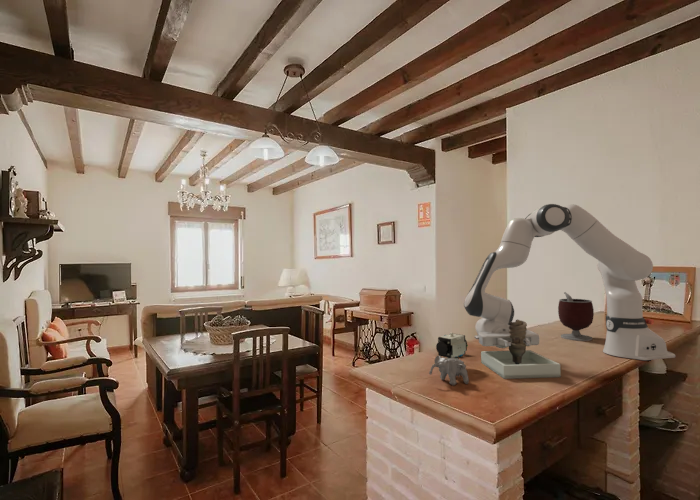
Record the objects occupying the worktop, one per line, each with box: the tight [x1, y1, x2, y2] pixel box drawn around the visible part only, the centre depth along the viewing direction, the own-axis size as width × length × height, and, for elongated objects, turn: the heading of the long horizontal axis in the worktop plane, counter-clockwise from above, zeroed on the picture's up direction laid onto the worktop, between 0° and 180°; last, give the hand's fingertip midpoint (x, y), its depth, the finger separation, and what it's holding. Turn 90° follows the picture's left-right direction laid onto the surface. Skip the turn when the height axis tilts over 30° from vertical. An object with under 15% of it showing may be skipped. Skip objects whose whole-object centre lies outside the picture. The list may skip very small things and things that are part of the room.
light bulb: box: [508, 319, 528, 364], centre depth 128 cm, size 6×6×15 cm
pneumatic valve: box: [435, 332, 468, 360], centre depth 130 cm, size 6×12×12 cm, turn 130°
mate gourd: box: [557, 291, 595, 342], centre depth 175 cm, size 16×14×20 cm
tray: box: [480, 349, 562, 380], centre depth 128 cm, size 18×18×4 cm
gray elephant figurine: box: [428, 355, 470, 386], centre depth 115 cm, size 9×12×8 cm
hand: (518, 344), depth 127 cm, fingers closed on light bulb, 5 cm apart
